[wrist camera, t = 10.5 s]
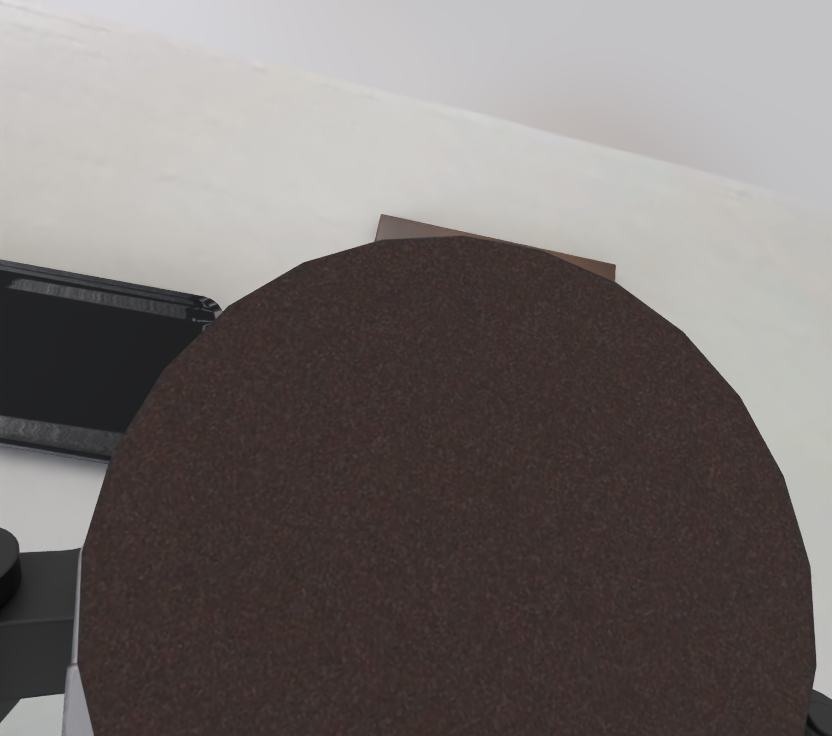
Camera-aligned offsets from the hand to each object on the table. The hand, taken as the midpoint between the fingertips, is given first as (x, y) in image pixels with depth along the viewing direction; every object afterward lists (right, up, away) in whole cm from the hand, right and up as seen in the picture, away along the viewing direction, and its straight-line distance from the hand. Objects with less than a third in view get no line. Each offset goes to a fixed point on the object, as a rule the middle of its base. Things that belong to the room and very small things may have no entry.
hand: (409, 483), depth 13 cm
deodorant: (-1, -4, +7) cm, 8 cm away
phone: (-16, +3, +15) cm, 22 cm away
